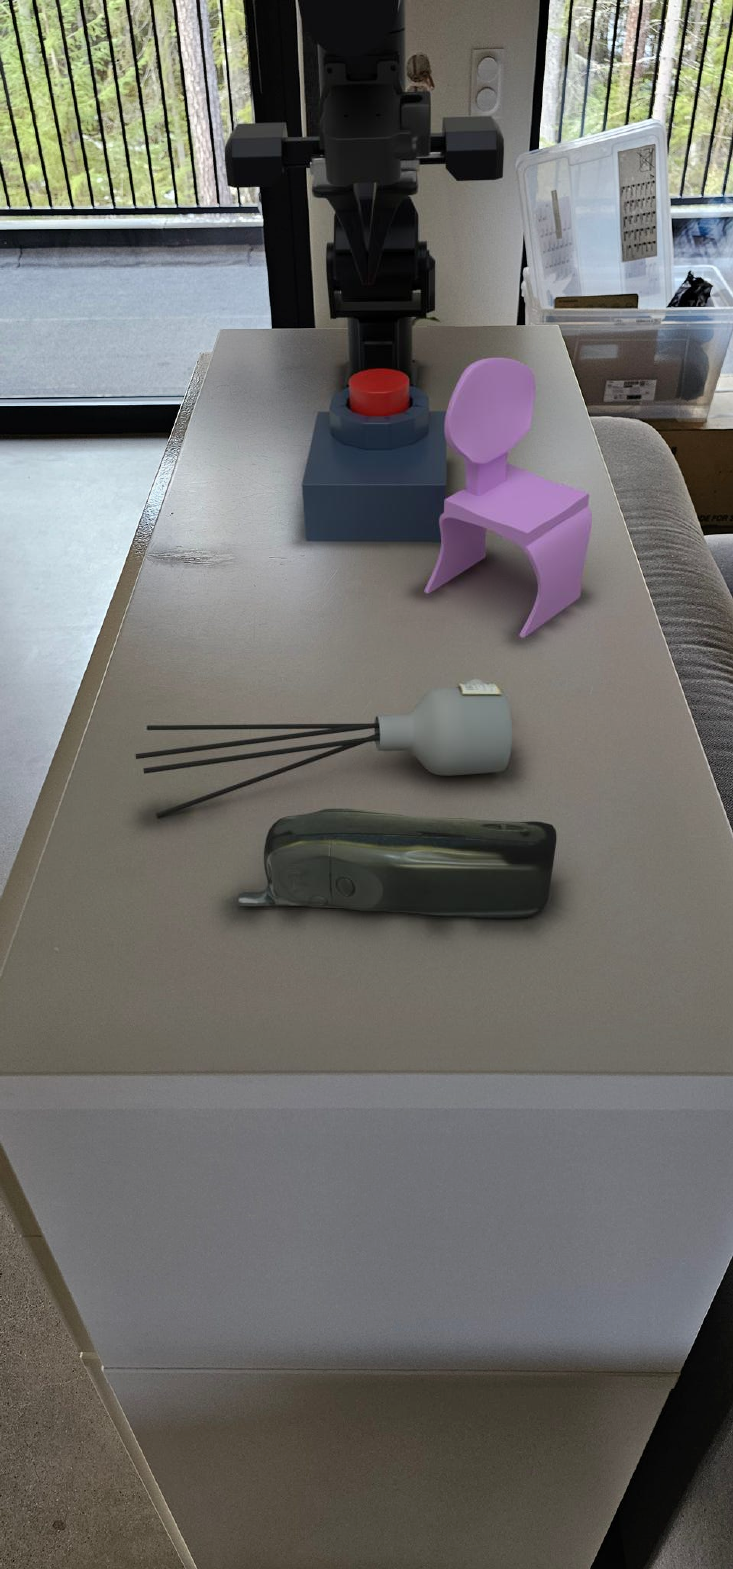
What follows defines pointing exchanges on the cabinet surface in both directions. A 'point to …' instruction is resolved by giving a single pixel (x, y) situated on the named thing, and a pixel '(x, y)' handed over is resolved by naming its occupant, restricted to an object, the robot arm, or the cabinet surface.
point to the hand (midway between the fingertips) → (367, 282)
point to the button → (379, 392)
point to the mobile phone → (407, 864)
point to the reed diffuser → (389, 736)
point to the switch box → (376, 474)
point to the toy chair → (508, 490)
